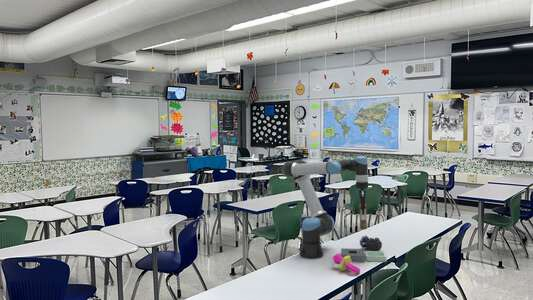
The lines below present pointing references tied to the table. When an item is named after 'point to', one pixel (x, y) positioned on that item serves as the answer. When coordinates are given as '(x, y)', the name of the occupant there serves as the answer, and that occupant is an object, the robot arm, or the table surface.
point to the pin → (363, 222)
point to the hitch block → (354, 254)
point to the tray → (375, 256)
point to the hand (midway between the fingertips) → (363, 218)
